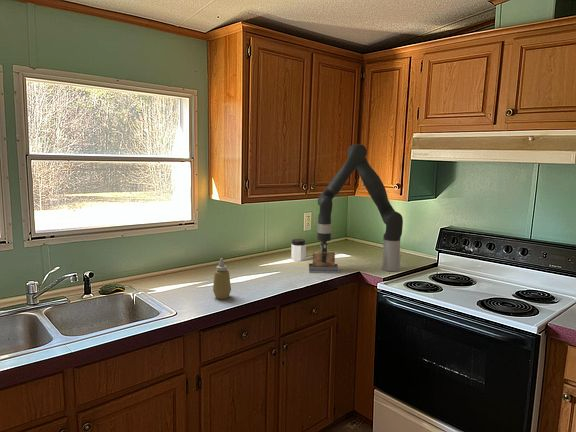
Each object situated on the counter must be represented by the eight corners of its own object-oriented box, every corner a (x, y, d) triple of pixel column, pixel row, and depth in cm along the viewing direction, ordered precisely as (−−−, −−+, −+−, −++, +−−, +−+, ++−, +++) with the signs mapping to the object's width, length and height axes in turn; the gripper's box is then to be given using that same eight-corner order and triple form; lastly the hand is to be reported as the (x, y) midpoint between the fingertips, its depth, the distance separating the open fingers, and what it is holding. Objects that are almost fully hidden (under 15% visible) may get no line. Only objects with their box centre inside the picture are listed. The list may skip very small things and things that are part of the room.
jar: (289, 257, 264) (290, 238, 262) (302, 257, 267) (302, 238, 265) (294, 261, 256) (294, 241, 254) (307, 260, 258) (307, 241, 256)
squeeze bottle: (232, 294, 196) (231, 256, 193) (230, 300, 188) (229, 260, 186) (214, 294, 196) (213, 256, 193) (211, 300, 188) (211, 260, 185)
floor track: (337, 268, 240) (337, 263, 240) (338, 273, 231) (338, 267, 231) (308, 268, 241) (308, 262, 240) (309, 272, 232) (309, 267, 231)
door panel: (334, 268, 237) (334, 252, 236) (334, 269, 234) (334, 253, 233) (312, 267, 238) (312, 252, 236) (312, 269, 235) (312, 253, 233)
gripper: (332, 234, 226) (331, 264, 228) (330, 229, 240) (329, 257, 242) (317, 234, 226) (317, 263, 228) (316, 229, 240) (316, 257, 242)
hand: (323, 260), depth 235 cm, fingers open, 8 cm apart
